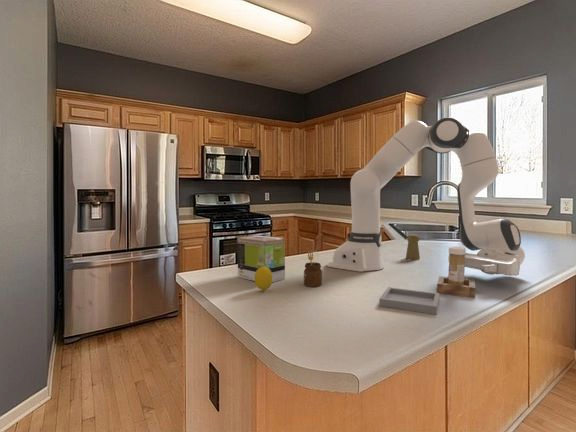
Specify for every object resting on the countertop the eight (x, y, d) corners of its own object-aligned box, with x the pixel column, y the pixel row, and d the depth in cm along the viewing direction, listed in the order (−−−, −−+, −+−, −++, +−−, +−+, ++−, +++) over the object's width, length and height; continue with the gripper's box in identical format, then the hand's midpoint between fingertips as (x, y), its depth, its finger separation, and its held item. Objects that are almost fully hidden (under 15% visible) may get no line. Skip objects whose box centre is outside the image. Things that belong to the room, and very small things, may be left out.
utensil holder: (323, 283, 112) (323, 247, 111) (319, 288, 106) (319, 251, 105) (306, 281, 114) (306, 246, 113) (301, 286, 108) (301, 250, 107)
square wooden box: (437, 292, 100) (437, 283, 100) (439, 284, 109) (439, 276, 109) (475, 297, 96) (475, 287, 95) (474, 288, 104) (474, 279, 104)
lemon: (254, 288, 106) (254, 264, 106) (272, 288, 107) (271, 263, 106) (254, 294, 101) (254, 268, 100) (272, 293, 101) (272, 267, 101)
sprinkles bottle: (444, 289, 104) (445, 246, 103) (457, 288, 105) (458, 245, 104) (454, 293, 100) (455, 248, 99) (467, 292, 100) (469, 248, 99)
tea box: (286, 279, 118) (285, 237, 117) (265, 285, 111) (264, 240, 109) (257, 272, 128) (257, 234, 127) (236, 277, 121) (236, 236, 120)
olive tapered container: (421, 260, 147) (421, 235, 146) (406, 259, 148) (407, 235, 147) (418, 257, 153) (419, 233, 152) (404, 257, 154) (405, 233, 153)
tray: (379, 306, 89) (379, 298, 89) (388, 293, 100) (388, 287, 100) (436, 314, 83) (436, 306, 83) (439, 300, 94) (439, 293, 93)
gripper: (461, 247, 121) (438, 250, 114) (525, 256, 104) (502, 261, 96) (461, 264, 121) (437, 269, 114) (524, 276, 104) (501, 283, 97)
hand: (467, 265), depth 105 cm, fingers open, 8 cm apart
